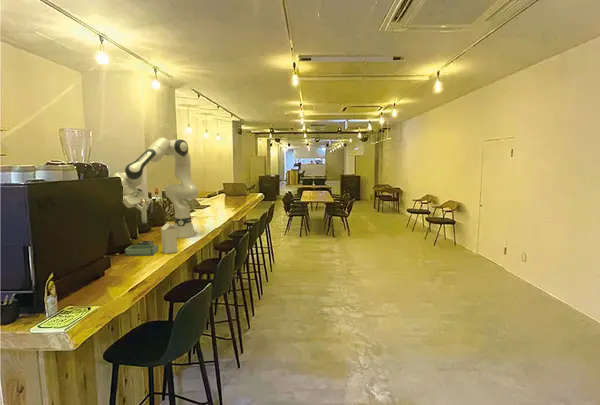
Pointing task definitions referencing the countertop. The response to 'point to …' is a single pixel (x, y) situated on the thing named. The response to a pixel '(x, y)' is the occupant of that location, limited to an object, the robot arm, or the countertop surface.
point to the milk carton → (169, 238)
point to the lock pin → (144, 211)
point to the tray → (141, 250)
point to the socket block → (145, 243)
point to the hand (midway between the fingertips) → (144, 209)
